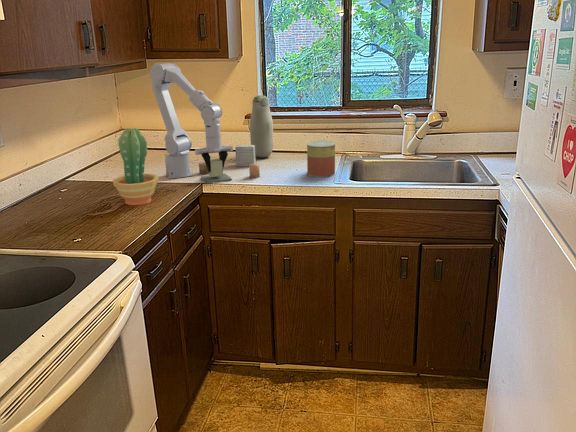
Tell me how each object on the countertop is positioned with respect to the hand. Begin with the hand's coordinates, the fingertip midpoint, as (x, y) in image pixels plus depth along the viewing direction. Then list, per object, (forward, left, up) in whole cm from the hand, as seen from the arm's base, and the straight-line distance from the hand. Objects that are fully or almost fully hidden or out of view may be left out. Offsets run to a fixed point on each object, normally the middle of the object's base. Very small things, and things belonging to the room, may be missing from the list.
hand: (215, 171), depth 208 cm
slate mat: (0, 0, -3) cm, 3 cm away
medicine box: (+18, +17, -4) cm, 25 cm away
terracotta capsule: (+15, -3, -3) cm, 16 cm away
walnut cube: (-1, +12, -3) cm, 13 cm away
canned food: (+41, -10, -4) cm, 42 cm away
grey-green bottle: (+30, +29, -4) cm, 42 cm away
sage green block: (0, 0, -2) cm, 2 cm away
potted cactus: (-32, -16, -4) cm, 36 cm away
